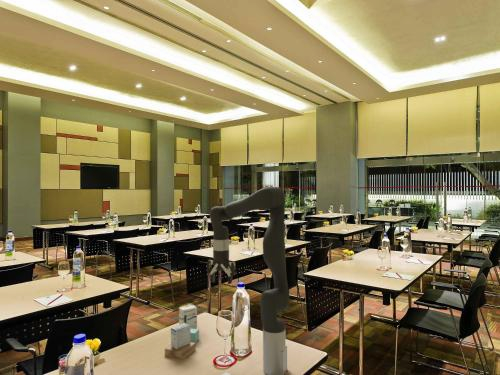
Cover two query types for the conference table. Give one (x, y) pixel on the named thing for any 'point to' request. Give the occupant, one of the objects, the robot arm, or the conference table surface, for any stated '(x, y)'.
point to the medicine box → (180, 336)
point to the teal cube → (194, 335)
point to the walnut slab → (180, 351)
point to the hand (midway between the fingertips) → (221, 283)
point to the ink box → (188, 316)
